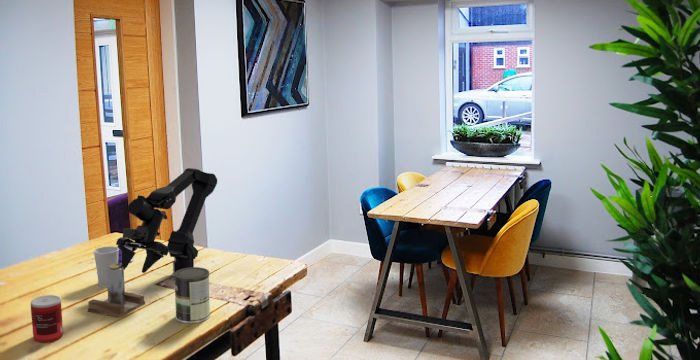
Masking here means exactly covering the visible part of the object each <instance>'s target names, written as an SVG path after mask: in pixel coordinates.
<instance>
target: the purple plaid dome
mask: <svg viewBox="0 0 700 360" xmlns="http://www.w3.org/2000/svg"><path fill="white" fill-rule="evenodd" d="M116 247H117V248H118V246H116ZM118 249H119V253H118V264H120V265H121V264H122V252H121V250H120V248H118ZM134 260H135V257H134V256H133V258H132V259H131V261H130V263H131V262H132V261H134Z"/></svg>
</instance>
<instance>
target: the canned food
mask: <svg viewBox="0 0 700 360" xmlns="http://www.w3.org/2000/svg"><path fill="white" fill-rule="evenodd" d="M30 314H31V325H32V335H33V339H34V341H36V342H37V343H43V344H44V343H45V344H46V343H53V342H55V341H58V340H60V339H61V338H62V337H63V334H64V328H63V327H64V326H63V325H64V324H63V315H62V314H63V312H62V300H61V297H60V296H58V295H53V294H50V295H49V294H48V295H47V294H46V295H42V296H38V297H35V298H33V299H31V301H30Z"/></svg>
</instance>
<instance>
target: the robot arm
mask: <svg viewBox="0 0 700 360" xmlns="http://www.w3.org/2000/svg"><path fill="white" fill-rule="evenodd" d="M217 184H218V178H217V176H216V174H214V173H210V172H205V171H202V170H200V169H197V168H192V167H191V168H190V167H187V168H185V169H184V171H183V172H182V173H181V174H179V175H178V176H177V177H176V178H175V179H173V180H171V182H170V183H168V184H167V185H164V186H162V187H158V188H157V189H154V190H152V191H151V192H150V194H149V195H148V196H147V197H145V196H144V195H139V194H138V195H137V196H136V197H137V198H134V199H133V200H132V201H131V202H130V203H128V206H127V211H128V213H129V214H130V215H132V216H134V217H135V218H136V219H138V220H139V221H141V225H137V226H136V227H135V228H125V227H124V228H123V231H122V237H119V238H117V240H116V243H115V245H116V246H117V247H118V248H120V250H121V252H122V263H121V264H120V266H123V267H124V271H125V270H126V268H127V267H128V265H130V263H131V262H132V261H131V259H132V258H133V257H134V256H135V255H136V252H135V251H137V250H138V249H140V250H145V252H146V257H145V259H144V261H143V262H144V263H143V265H142V269H141V273H142V274H145V273H147V271H148V270H149V269H150V268H152V266H153V265H154V264H156V263H157V262H158V261H160V260H161V259H164V257H165V256H166V257H167V256H168V254H169V256H170V257H171V258H174V260H173V261H172V272H173V274H174V273H175V272H176V271H178V270H180V269H183V268H190V267H195V261H194V260H196V258H198V254H199V250H198V249H197V248H196V247H195V246H194V243H195V240H194V239H195V238H194V232H195V228H196V226H197V223H198V220H199V217H200V215H201V212H202V209H203V207H204V204H205V201H206V199H207V198H208V197H209V196H210V195H211V194H213V192H214V191H215V188H216V187H217ZM189 186H191V188H192V195H191V197H190V200H189V203H188V205H187V207H186V210H185V212H184V216H183V218H182V221H181V224H180V225H179V228H178V229H177V230H172V231H171V232H170V236H169V238H168V239H167V245H166V244H164V243H163V242H161V241H157V240H156V238H157V237H159V236H160V235H161V232H159V230H160V228H161V225H162V222H163V220H168V215H167V214H166V211H164V210H169V209H171V208H172V207H173V205H174V204H175V203H176V201H177V197H178V196H179V195H180V194H181V193H182V192H185V191H184V190H186V189H187V188H189ZM130 261H131V262H130Z"/></svg>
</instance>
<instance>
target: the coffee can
mask: <svg viewBox="0 0 700 360" xmlns="http://www.w3.org/2000/svg"><path fill="white" fill-rule="evenodd" d="M173 277H174V295H175V296H174V297H175V298H174V300H175V302H174V303H175V320H176V321H177V322H179V323H182V324H199V323H202V322H206V321H207V320H209V318H210V317H211V312H210V311H211V310H210V309H211V306H210V304H211V302H210V271H209V269H207V268H204V267H199V266H198V267H197V266H194V267H190V268H183V269H180V270H178V271H176V272H175V273H174V272H173Z"/></svg>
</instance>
